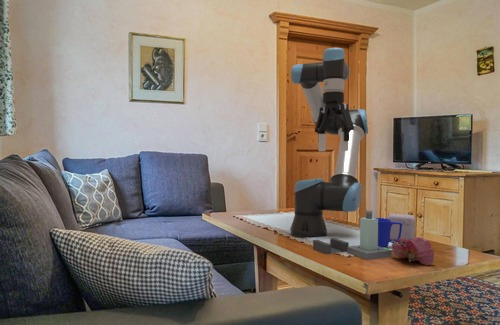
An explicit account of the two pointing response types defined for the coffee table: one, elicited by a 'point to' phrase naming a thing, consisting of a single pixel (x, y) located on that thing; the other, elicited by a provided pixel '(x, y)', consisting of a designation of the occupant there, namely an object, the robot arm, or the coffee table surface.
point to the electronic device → (407, 226)
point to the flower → (414, 250)
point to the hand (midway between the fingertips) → (332, 151)
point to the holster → (331, 246)
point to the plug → (369, 232)
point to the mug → (386, 232)
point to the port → (369, 252)
